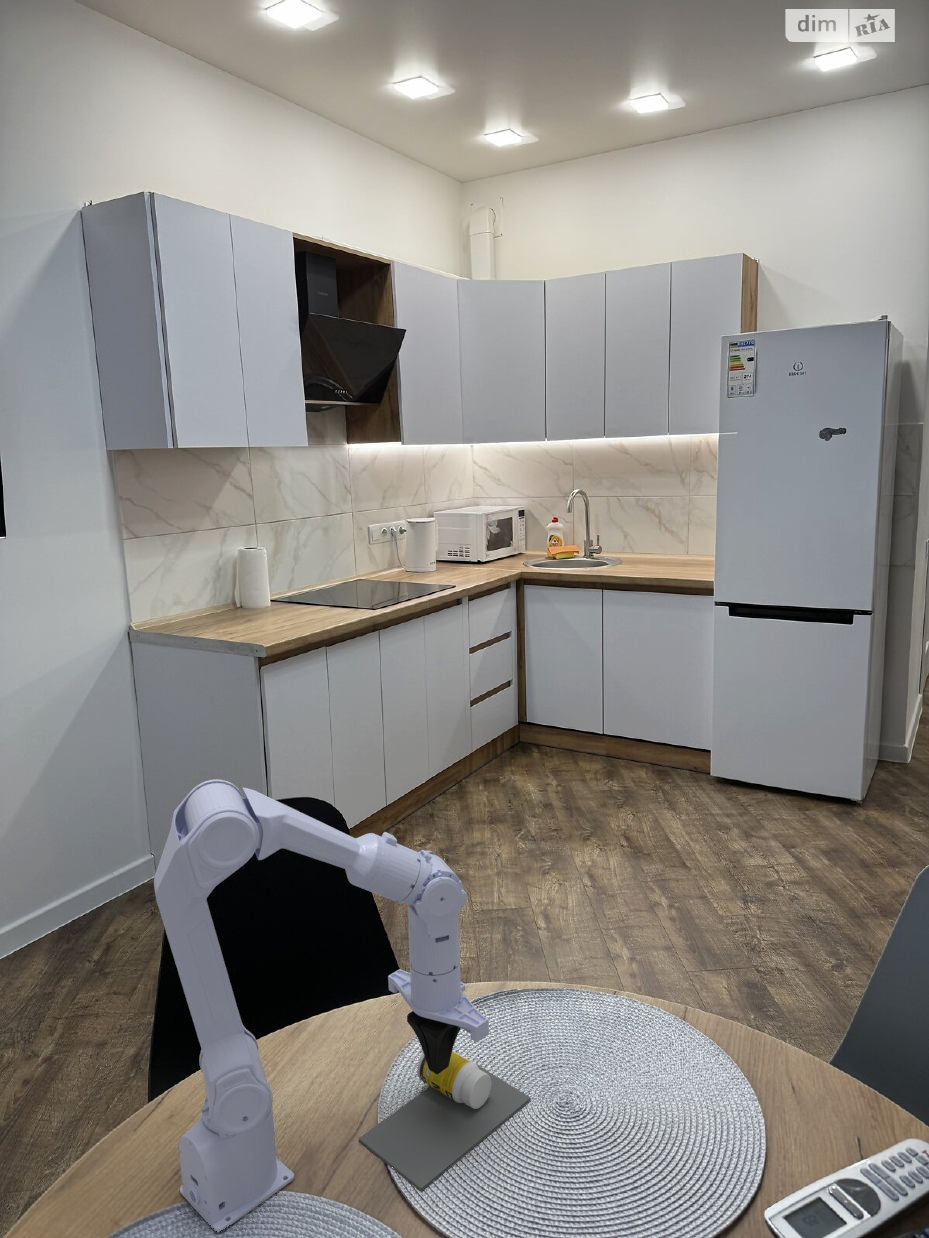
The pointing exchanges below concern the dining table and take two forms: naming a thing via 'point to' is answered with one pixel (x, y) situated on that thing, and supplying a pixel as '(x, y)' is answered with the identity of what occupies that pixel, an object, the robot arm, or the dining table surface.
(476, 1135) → the mat
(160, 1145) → the dining table surface
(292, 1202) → the dining table surface
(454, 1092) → the supplement bottle
